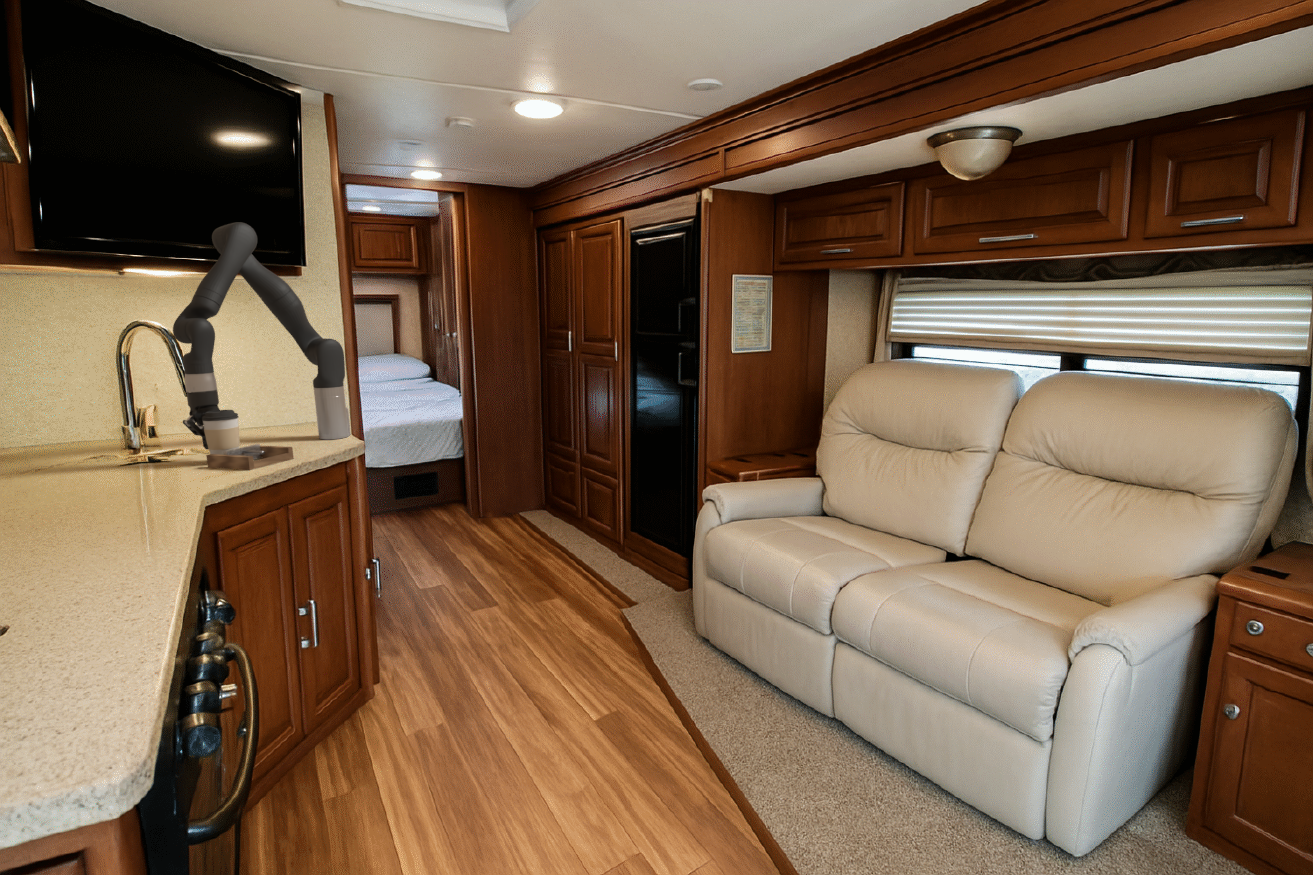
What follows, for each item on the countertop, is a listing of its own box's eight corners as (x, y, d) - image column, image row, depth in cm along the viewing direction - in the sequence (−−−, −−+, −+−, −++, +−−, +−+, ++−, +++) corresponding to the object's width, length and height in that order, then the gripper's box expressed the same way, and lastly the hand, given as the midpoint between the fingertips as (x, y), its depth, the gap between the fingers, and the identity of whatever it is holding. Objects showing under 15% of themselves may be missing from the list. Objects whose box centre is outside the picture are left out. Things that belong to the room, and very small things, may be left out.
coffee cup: (200, 463, 202) (193, 411, 199) (232, 457, 210) (225, 407, 207) (219, 466, 198) (212, 412, 195) (251, 459, 206) (244, 408, 203)
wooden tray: (207, 467, 196) (206, 455, 196) (253, 456, 210) (252, 445, 210) (249, 470, 192) (248, 457, 191) (293, 458, 206) (292, 446, 205)
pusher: (225, 465, 197) (223, 451, 196) (258, 457, 207) (256, 444, 206) (248, 466, 194) (246, 452, 194) (280, 458, 205) (278, 445, 204)
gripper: (212, 386, 209) (220, 444, 213) (169, 391, 197) (178, 452, 200) (232, 386, 207) (239, 445, 210) (189, 392, 195) (198, 454, 198)
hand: (209, 448), depth 205 cm, fingers closed
